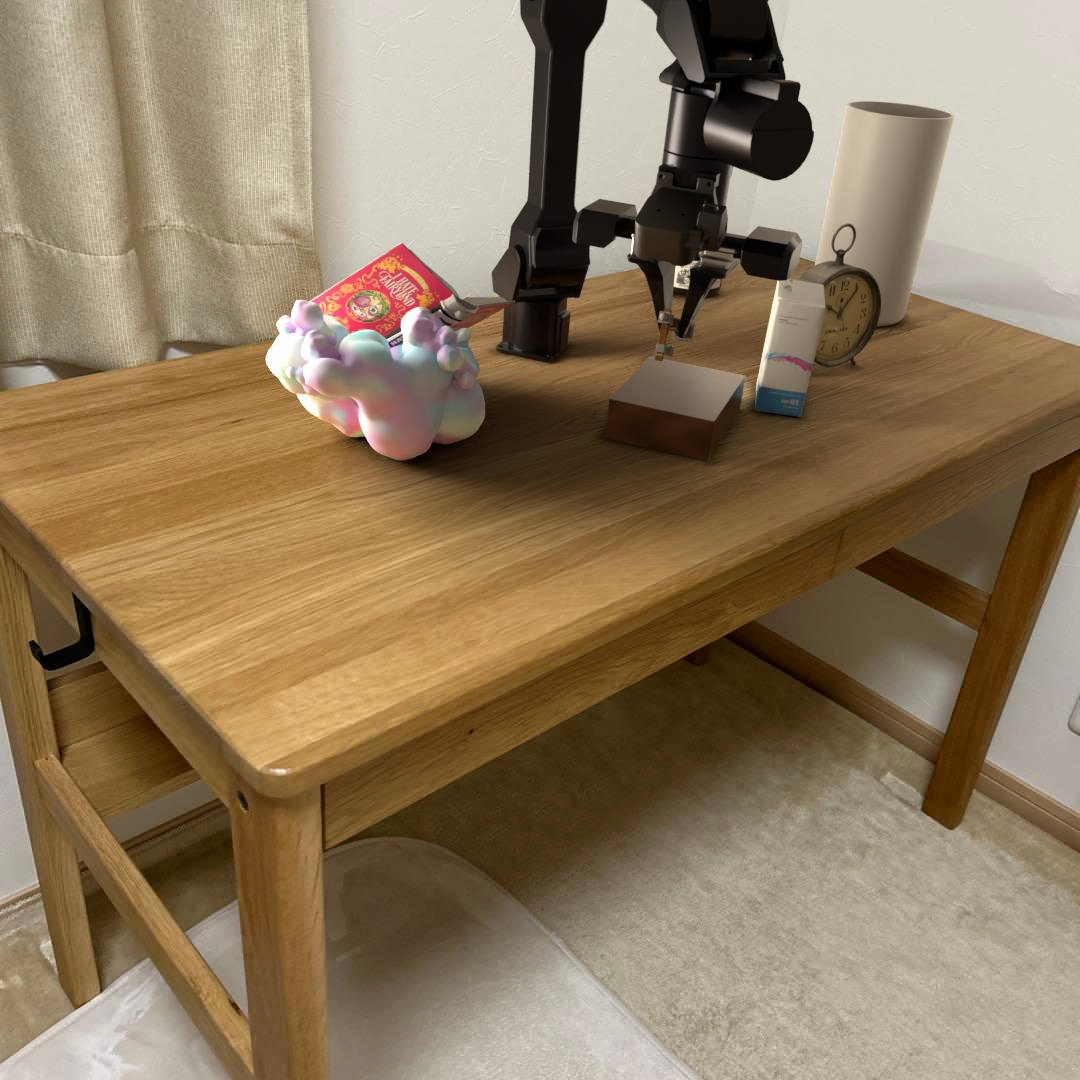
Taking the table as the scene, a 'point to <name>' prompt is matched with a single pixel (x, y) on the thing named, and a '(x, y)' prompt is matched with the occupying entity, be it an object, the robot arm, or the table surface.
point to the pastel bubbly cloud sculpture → (387, 356)
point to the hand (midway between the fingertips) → (672, 335)
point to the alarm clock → (844, 307)
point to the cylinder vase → (885, 193)
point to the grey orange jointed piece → (668, 324)
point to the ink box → (790, 347)
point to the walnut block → (675, 408)
